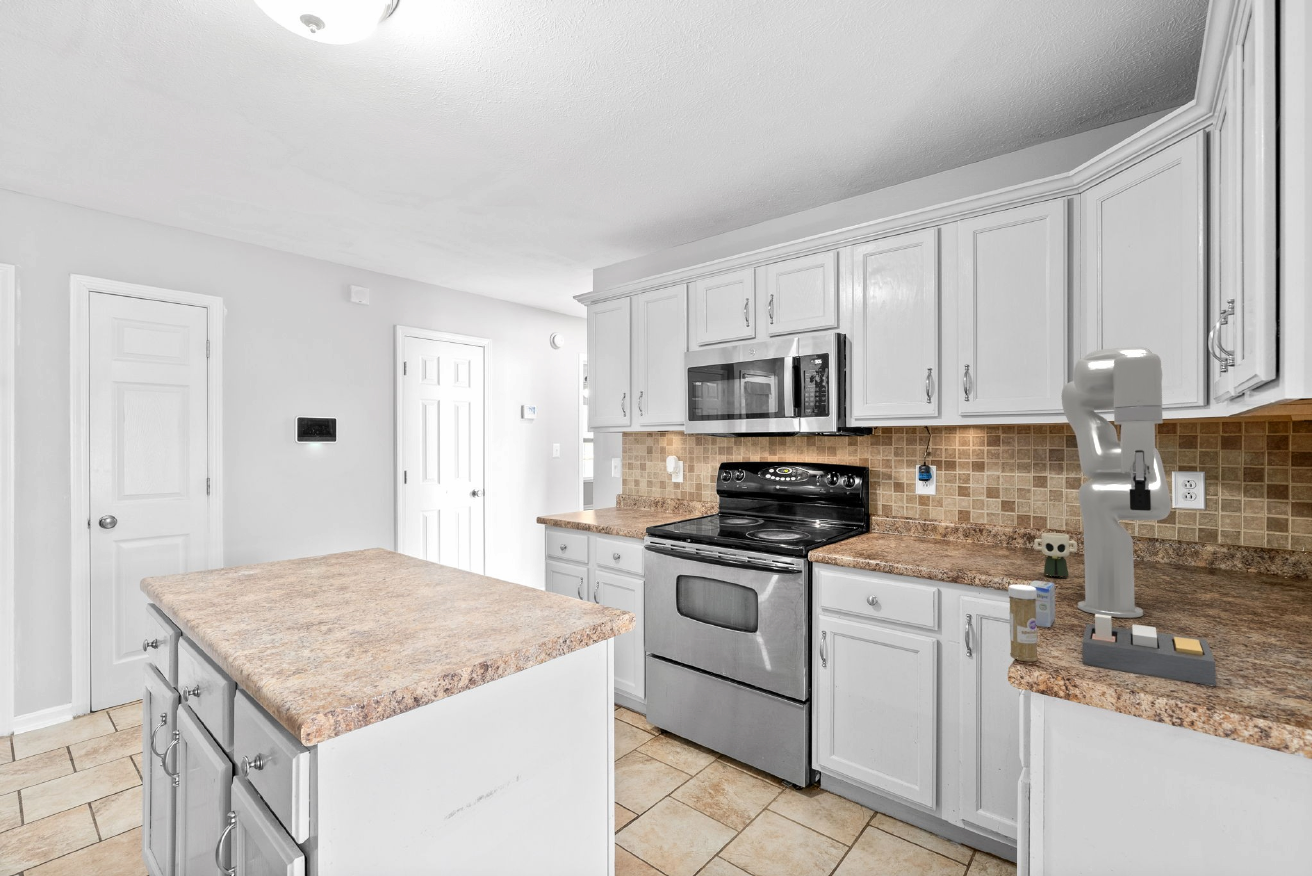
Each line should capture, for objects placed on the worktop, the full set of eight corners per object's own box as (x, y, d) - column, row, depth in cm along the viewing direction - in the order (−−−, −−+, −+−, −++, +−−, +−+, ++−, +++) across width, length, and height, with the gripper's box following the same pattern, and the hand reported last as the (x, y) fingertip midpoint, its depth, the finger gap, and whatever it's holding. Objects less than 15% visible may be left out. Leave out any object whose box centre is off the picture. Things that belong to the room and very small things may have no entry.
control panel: (1087, 643, 124) (1086, 623, 124) (1206, 661, 113) (1206, 639, 113) (1082, 664, 112) (1082, 642, 112) (1216, 686, 101) (1215, 661, 102)
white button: (1132, 633, 117) (1132, 624, 117) (1155, 636, 115) (1155, 627, 115) (1132, 644, 111) (1132, 634, 111) (1157, 648, 109) (1157, 637, 109)
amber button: (1174, 646, 113) (1173, 636, 114) (1198, 649, 111) (1198, 639, 111) (1176, 658, 107) (1176, 647, 107) (1202, 661, 105) (1202, 651, 105)
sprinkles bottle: (1030, 664, 113) (1028, 590, 113) (1005, 657, 117) (1003, 585, 117) (1042, 659, 115) (1041, 586, 116) (1017, 652, 119) (1015, 582, 119)
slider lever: (1093, 638, 118) (1092, 612, 118) (1115, 641, 116) (1114, 615, 116) (1092, 644, 114) (1091, 616, 115) (1115, 647, 112) (1114, 619, 112)
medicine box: (1033, 617, 144) (1032, 579, 144) (1055, 620, 141) (1054, 582, 142) (1027, 624, 138) (1026, 585, 138) (1050, 628, 135) (1050, 588, 135)
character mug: (1034, 577, 188) (1034, 534, 189) (1035, 573, 194) (1034, 531, 195) (1078, 581, 183) (1077, 536, 183) (1077, 576, 189) (1076, 534, 189)
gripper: (1114, 418, 130) (1117, 506, 130) (1113, 416, 118) (1115, 512, 118) (1160, 417, 125) (1163, 507, 125) (1164, 414, 114) (1167, 514, 113)
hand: (1140, 509), depth 121 cm, fingers closed
